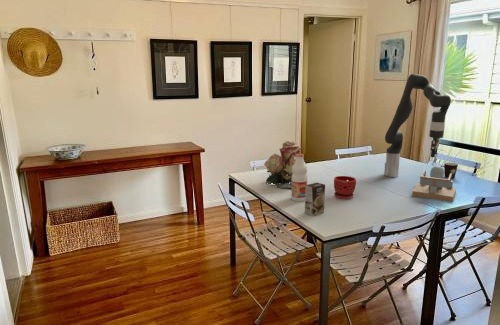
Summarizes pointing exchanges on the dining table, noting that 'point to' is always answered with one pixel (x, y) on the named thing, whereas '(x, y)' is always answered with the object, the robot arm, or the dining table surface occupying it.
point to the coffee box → (314, 199)
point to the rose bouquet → (282, 165)
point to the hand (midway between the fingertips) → (433, 155)
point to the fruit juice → (299, 179)
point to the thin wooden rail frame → (434, 181)
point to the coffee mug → (450, 169)
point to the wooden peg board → (435, 188)
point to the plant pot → (344, 187)
